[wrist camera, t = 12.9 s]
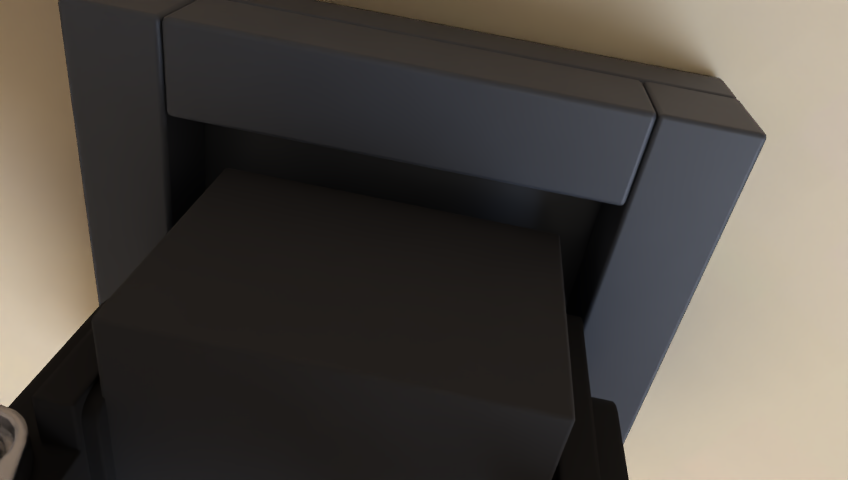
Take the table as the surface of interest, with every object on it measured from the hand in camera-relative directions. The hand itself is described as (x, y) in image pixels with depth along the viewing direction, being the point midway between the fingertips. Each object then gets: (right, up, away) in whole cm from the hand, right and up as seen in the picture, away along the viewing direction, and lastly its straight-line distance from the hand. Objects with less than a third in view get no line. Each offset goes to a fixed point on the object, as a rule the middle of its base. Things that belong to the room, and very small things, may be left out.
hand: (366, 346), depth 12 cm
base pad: (0, +1, +2) cm, 3 cm away
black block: (0, 0, 0) cm, 0 cm away
